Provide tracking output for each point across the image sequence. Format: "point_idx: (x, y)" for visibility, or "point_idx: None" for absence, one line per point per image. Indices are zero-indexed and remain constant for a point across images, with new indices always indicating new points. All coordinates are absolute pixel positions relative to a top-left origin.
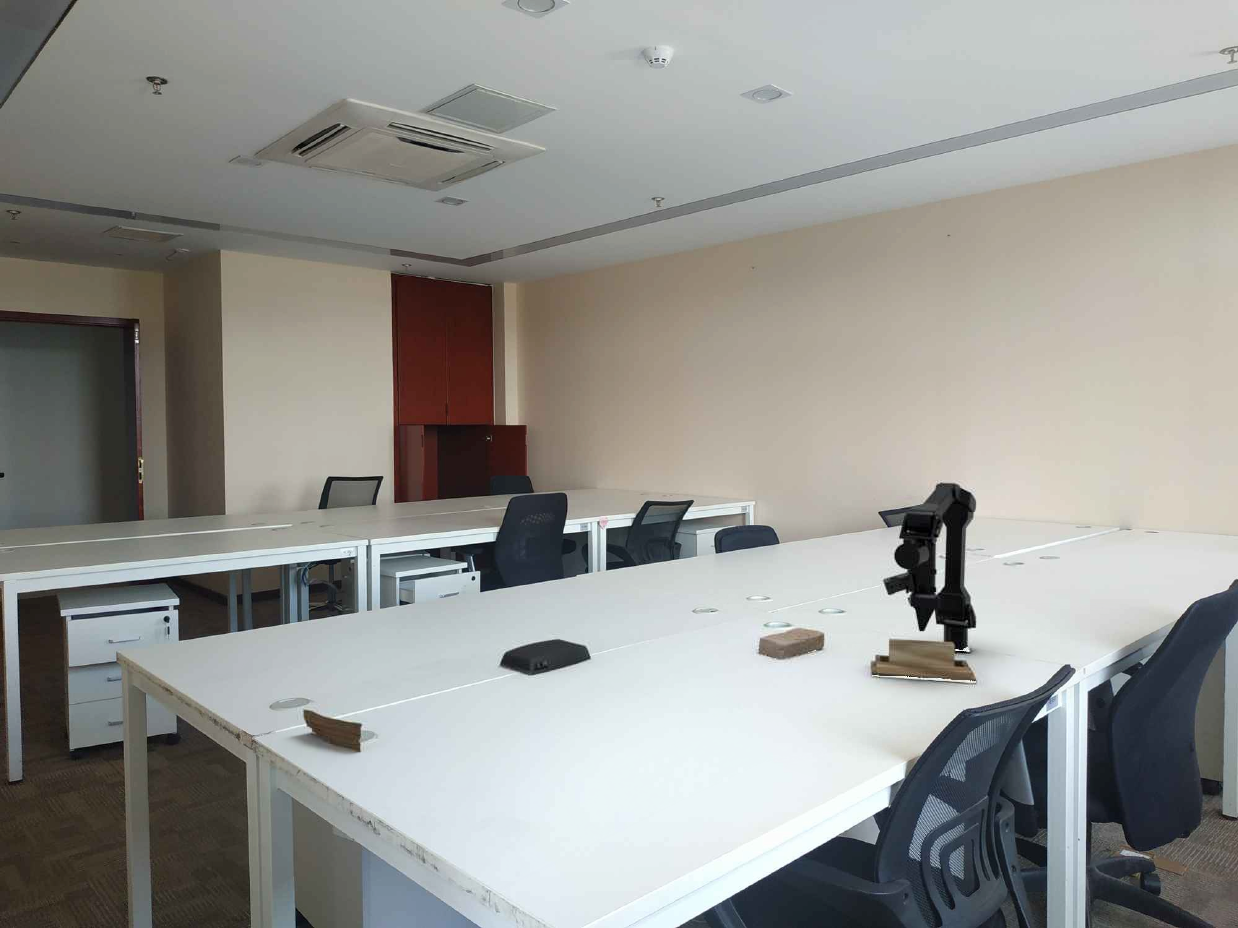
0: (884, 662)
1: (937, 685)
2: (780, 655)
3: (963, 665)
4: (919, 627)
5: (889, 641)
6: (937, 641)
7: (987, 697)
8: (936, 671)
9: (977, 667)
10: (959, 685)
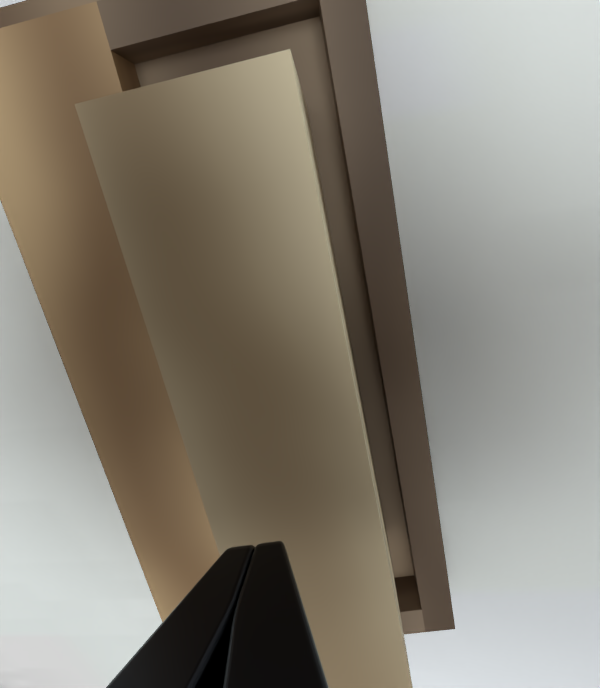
0: (108, 91)
1: (65, 460)
2: None
3: None
4: (196, 594)
5: (140, 89)
6: (389, 597)
7: (11, 658)
8: (117, 485)
9: (549, 619)
10: (132, 554)
